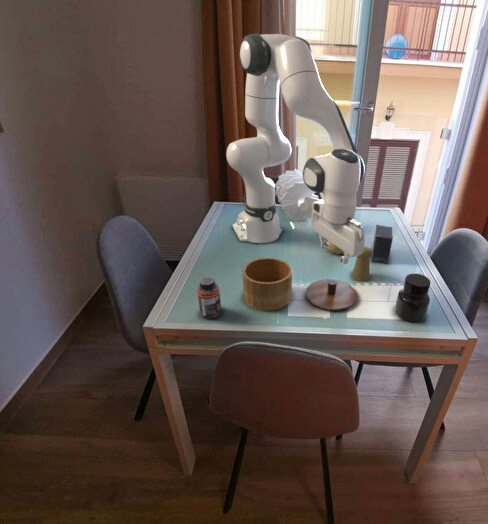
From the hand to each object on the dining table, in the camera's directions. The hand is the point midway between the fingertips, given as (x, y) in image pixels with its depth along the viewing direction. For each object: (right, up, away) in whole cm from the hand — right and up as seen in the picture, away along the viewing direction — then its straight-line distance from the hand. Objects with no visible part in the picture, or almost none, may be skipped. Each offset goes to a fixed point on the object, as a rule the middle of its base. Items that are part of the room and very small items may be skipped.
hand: (333, 255), depth 105 cm
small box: (+20, 0, +31) cm, 37 cm away
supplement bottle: (-36, -17, -2) cm, 39 cm away
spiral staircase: (-12, +21, +64) cm, 69 cm away
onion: (+4, +2, +33) cm, 33 cm away
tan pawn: (+11, -7, +18) cm, 22 cm away
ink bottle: (+23, -17, +1) cm, 29 cm away
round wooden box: (-20, -12, +6) cm, 24 cm away
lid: (0, -12, +7) cm, 14 cm away
